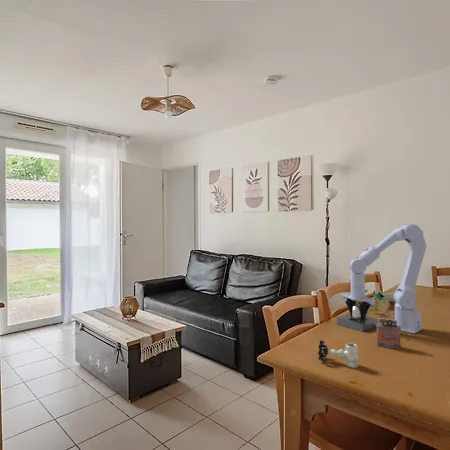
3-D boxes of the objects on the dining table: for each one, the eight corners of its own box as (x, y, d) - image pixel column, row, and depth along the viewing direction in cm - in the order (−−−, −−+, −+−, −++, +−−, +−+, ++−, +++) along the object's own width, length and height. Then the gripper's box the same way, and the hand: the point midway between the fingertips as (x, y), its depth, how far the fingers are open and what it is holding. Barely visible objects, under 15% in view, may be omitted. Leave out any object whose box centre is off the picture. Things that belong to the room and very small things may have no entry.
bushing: (365, 322, 141) (364, 305, 141) (360, 324, 138) (360, 308, 138) (355, 320, 144) (354, 304, 144) (350, 322, 141) (350, 306, 141)
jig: (377, 325, 142) (377, 318, 142) (362, 331, 134) (362, 324, 134) (352, 319, 151) (352, 312, 151) (337, 324, 144) (337, 317, 144)
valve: (360, 362, 106) (322, 356, 112) (359, 342, 106) (322, 337, 112) (357, 371, 100) (318, 363, 106) (357, 349, 100) (317, 343, 106)
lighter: (400, 345, 119) (399, 318, 119) (401, 349, 116) (401, 321, 116) (375, 343, 122) (375, 316, 122) (376, 346, 119) (376, 319, 119)
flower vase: (396, 317, 178) (373, 317, 153) (374, 306, 187) (349, 304, 162) (404, 297, 177) (382, 293, 153) (382, 287, 186) (358, 282, 161)
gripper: (337, 285, 145) (337, 316, 145) (368, 290, 133) (369, 323, 133) (346, 283, 149) (346, 313, 149) (377, 288, 137) (377, 320, 137)
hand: (358, 317), depth 141 cm, fingers closed on bushing, 4 cm apart
